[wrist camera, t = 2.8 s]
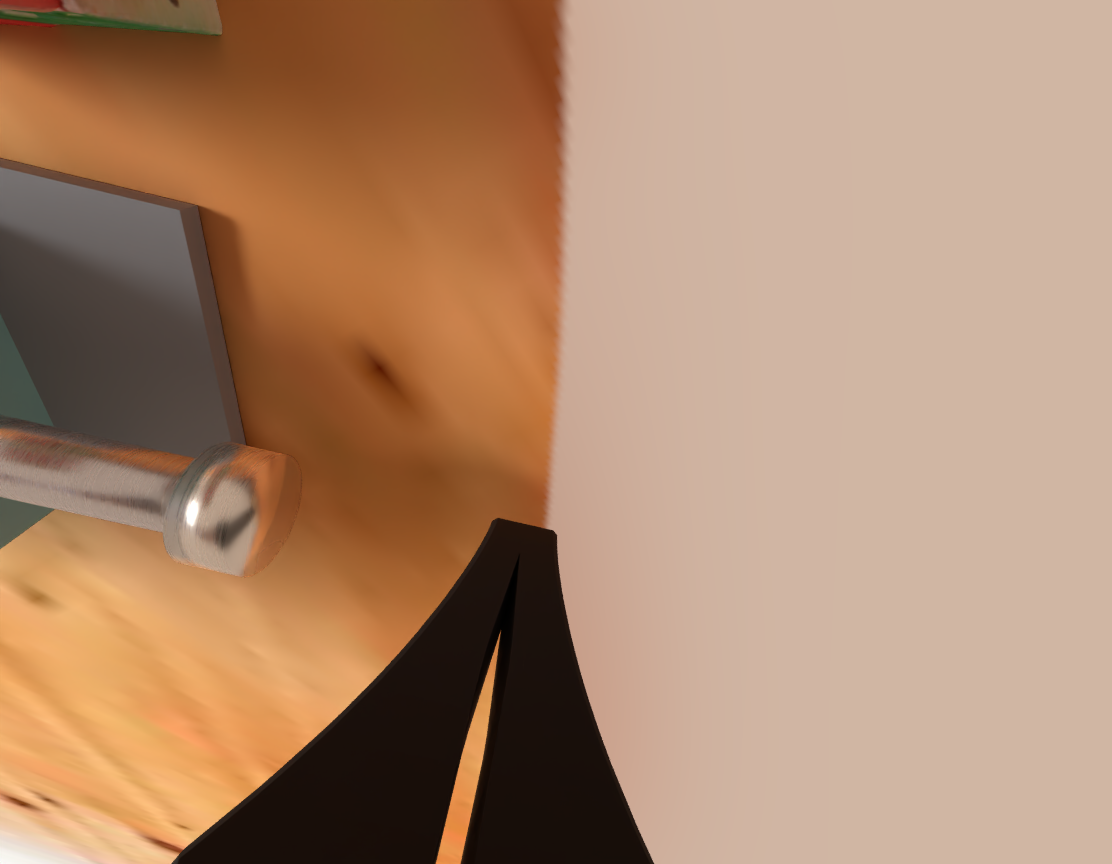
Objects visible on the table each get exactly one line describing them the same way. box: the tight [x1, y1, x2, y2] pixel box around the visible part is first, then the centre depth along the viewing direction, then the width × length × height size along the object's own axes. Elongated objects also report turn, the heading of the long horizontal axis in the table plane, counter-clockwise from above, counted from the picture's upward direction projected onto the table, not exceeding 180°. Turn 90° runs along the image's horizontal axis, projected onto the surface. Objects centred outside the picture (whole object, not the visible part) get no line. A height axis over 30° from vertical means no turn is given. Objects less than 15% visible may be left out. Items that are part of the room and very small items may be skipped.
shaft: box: [0, 415, 302, 577], centre depth 10 cm, size 11×3×3 cm, turn 78°
